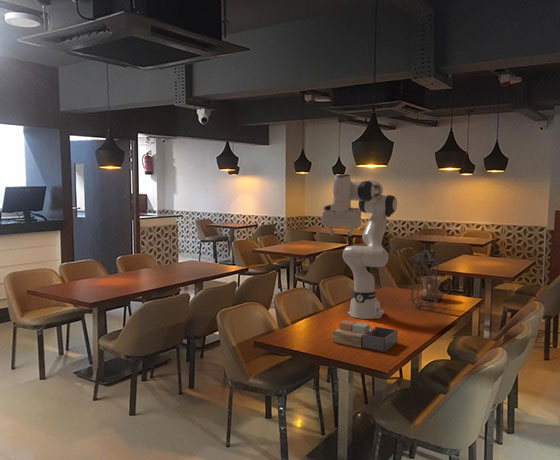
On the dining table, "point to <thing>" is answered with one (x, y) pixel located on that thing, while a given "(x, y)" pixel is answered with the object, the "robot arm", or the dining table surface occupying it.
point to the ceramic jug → (424, 292)
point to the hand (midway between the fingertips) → (341, 235)
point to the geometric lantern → (427, 277)
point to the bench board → (349, 337)
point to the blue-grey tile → (361, 328)
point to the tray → (380, 339)
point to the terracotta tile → (346, 325)
